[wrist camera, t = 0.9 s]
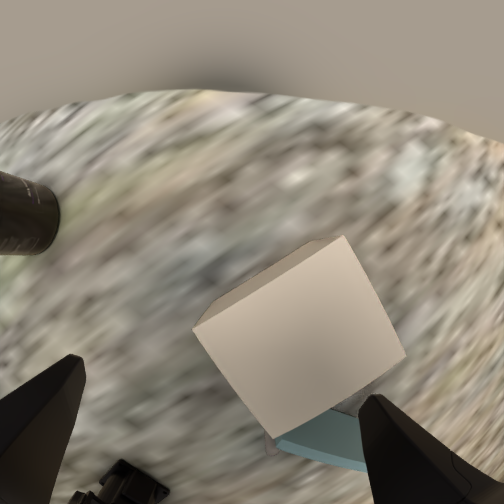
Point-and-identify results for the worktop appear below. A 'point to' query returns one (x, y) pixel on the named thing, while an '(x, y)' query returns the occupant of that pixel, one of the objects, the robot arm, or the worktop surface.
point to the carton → (300, 335)
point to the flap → (323, 441)
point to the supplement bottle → (25, 216)
